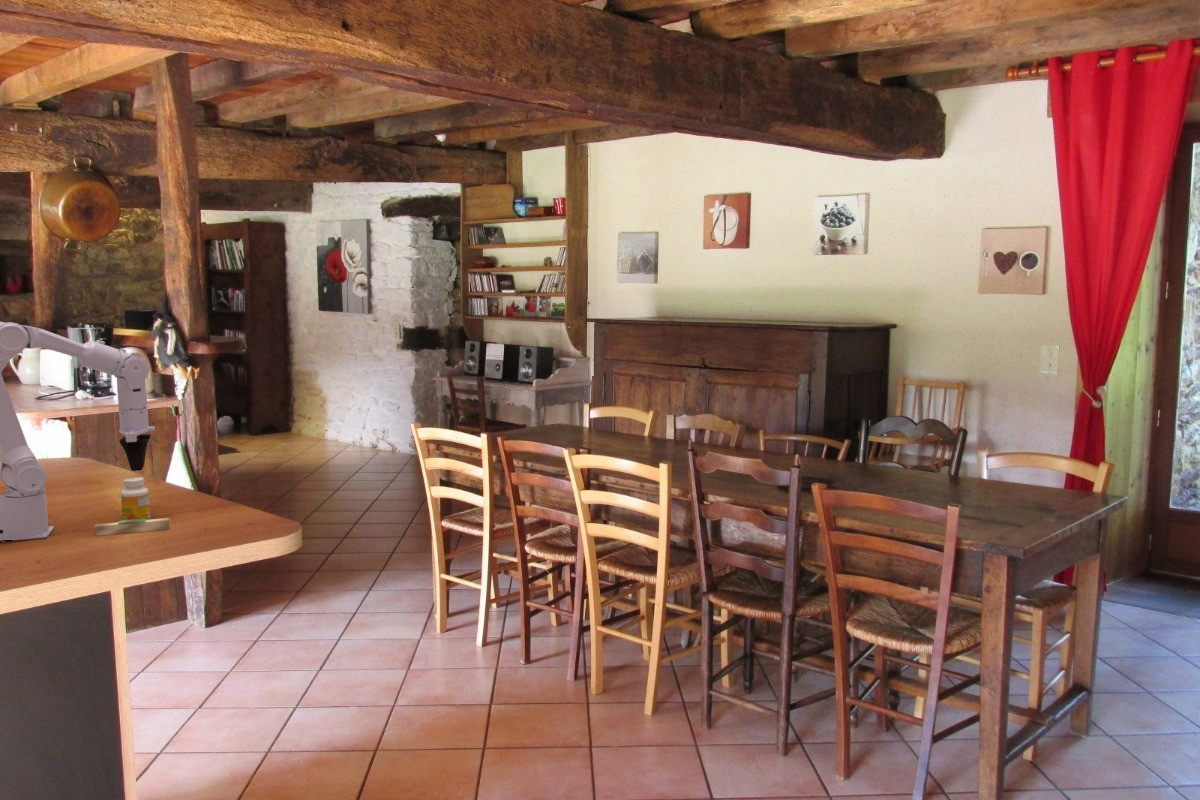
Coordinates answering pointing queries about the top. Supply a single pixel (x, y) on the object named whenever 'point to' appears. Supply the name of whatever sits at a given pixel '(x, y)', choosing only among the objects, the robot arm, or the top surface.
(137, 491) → the supplement bottle
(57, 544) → the top surface
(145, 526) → the stop rail
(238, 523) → the top surface
